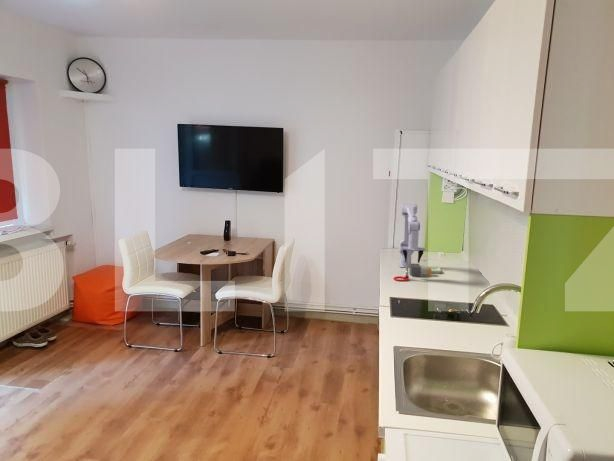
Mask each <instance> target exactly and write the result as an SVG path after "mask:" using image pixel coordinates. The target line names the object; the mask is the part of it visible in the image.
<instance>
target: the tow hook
mask: <svg viewBox="0 0 614 461" xmlns="http://www.w3.org/2000/svg"><path fill="white" fill-rule="evenodd" d="M409 278H410V275H409V268H408V259H407V260H406V268H405V276H403V275H402V276H393V278H392V280H393V279H394V280H393V281H395V282H406V281H407V282H409V281H410V279H409Z"/></svg>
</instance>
